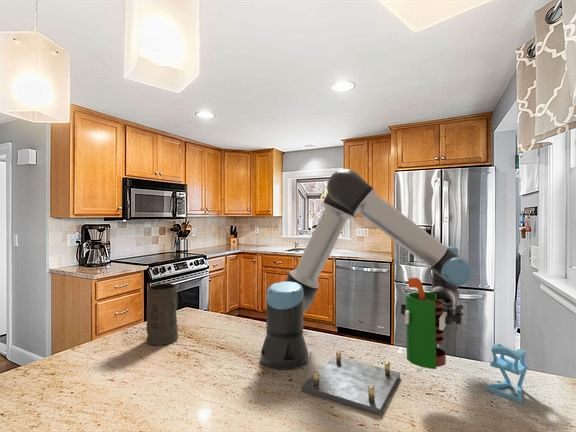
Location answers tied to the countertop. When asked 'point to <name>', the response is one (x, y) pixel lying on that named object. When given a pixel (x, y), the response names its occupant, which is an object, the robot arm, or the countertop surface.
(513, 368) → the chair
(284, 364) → the robot arm
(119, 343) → the countertop surface
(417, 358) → the motor
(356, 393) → the plate
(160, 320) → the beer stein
